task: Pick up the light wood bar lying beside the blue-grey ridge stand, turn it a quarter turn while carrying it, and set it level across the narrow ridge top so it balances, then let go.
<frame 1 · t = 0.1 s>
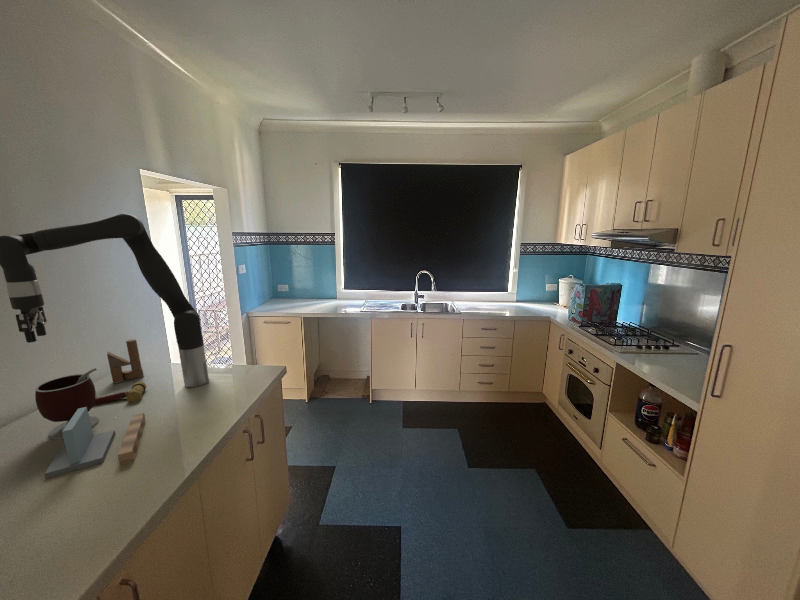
hand: (37, 338, 114), 29 cm above the countertop, tool pointing down, fingers open, 8 cm apart
ridge stand: (83, 453, 98), on the countertop
mate gourd: (78, 427, 112), on the countertop
gavel: (112, 402, 129), on the countertop
light wood bar: (134, 441, 104), on the countertop
wooden block: (128, 379, 148), on the countertop
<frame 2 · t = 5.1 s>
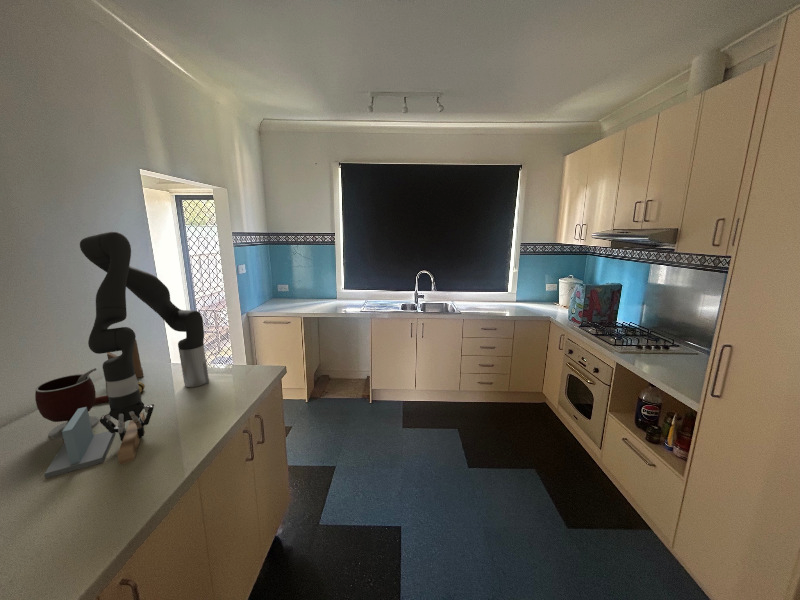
hand: (133, 439, 104), 1 cm above the countertop, tool pointing down, fingers closed on light wood bar, 3 cm apart
light wood bar: (133, 440, 104), on the countertop, touching gripper
when the fingers open (13 cm above the countertop, at t = 9.8 s): light wood bar stays where it is, resting on ridge stand.
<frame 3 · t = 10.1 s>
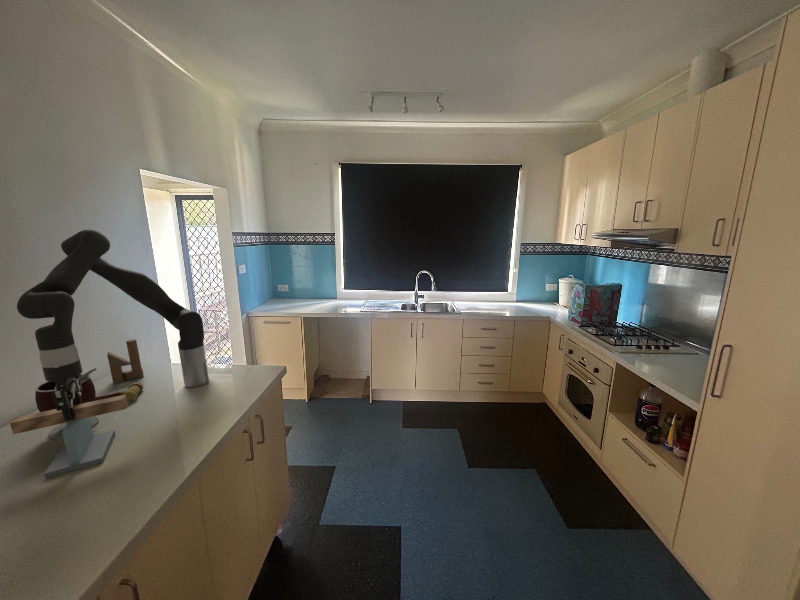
hand: (74, 414, 95), 13 cm above the countertop, tool pointing down, fingers open, 6 cm apart
light wood bar: (75, 418, 95), point 12 cm above the countertop, touching ridge stand
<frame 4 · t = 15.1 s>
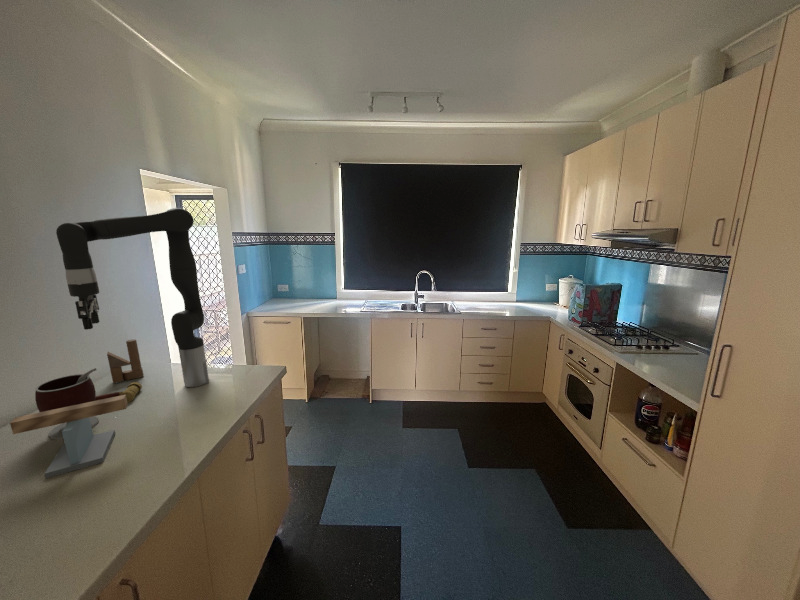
hand: (92, 326, 116), 33 cm above the countertop, tool pointing down, fingers open, 8 cm apart
at the end: light wood bar 0.1 cm off-centre on the ridge stand, point 12.0 cm above the ridge stand's base; light wood bar tilted 0°; the gripper is holding nothing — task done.
